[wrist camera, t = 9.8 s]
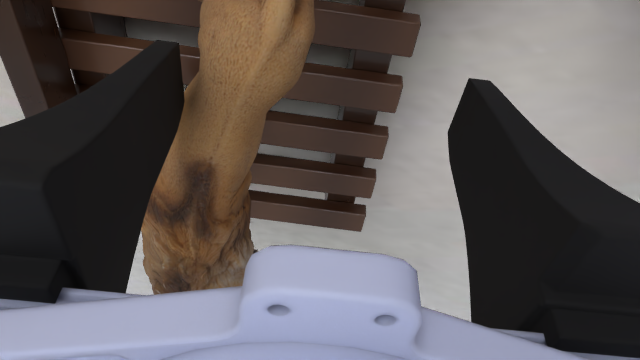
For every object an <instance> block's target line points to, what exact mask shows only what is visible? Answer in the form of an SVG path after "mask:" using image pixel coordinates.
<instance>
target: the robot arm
mask: <svg viewBox="0 0 640 360" xmlns="http://www.w3.org/2000/svg"><path fill="white" fill-rule="evenodd" d="M184 103H185V99H184V88H183V78H182V68H181V58H180V48H179V43H177V42H169V41H161V40H156V41H155V42H153V43H152V44H151V45H149V46H148V47H147V48H145V49H144V50H143V51H141V52H140V53H139V54H137V55H136V56H135V57H134V58H132V59H131V60H130V61H128V62H127V63H125V64H124V65H123V66H121V67H120V68H119V69H117V70H116V71H114V72H113V73H112V74H110V75H109V76H107V77H105V78H104V79H102V80H101V81H99V82H98V83H96V84H95V85H93V86H92V87H90V88H88V89H87V90H85V91H83V92H82V93H80V94H78V95H76V96H74V97H73V98H71V99H69V100H67V101H65V102H63V103H61V104H59V105H57V106H54V107H52V108H50V109H47V110H45V111H43V112H40V113H38V114H35V115H33V116H30V117H28V118H26V119H23V120H20V121H18V122H15V123H12V124H9V125H6V126H3V127H0V360H640V203H638V202H636V201H634V200H633V199H631V198H629V197H627V196H625V195H623V194H622V193H620V192H618V191H617V190H615V189H613V188H612V187H610V186H608V185H607V184H605V183H604V182H602V181H601V180H599V179H598V178H596V177H595V176H593V175H591V174H590V173H589V172H587V171H586V170H584V169H583V168H582V167H580V166H579V165H578V164H576V163H575V162H574V161H572V160H571V159H570V158H569V157H567V156H566V155H565V154H563V153H562V152H561V151H560V150H559V149H557V148H556V147H555V146H554V145H553V144H552V143H551V142H550V141H549V140H547V139H546V138H545V137H544V136H543V135H542V134H541V133H540V132H539V131H538V130H537V129H536V128H535V127H534V126H533V125H532V124H531V123H530V122H529V121H528V120H527V119H526V118H525V117H524V116H523V115H522V114H521V113H520V112H519V111H518V110H517V109H516V108H515V106H514V105H513V104H512V103H511V102H510V101H509V100H508V99H507V98H506V97H505V96H504V95H503V93H502V92H501V91H500V90H499V89H498V88H497V87H496V86H495V85H494V84H493V83H492V82H491V81H488V80H480V79H472V78H469V79H468V82H467V84H466V87H465V90H464V92H463V95H462V97H461V100H460V102H459V105H458V107H457V110H456V113H455V115H454V118H453V120H452V123H451V125H450V128H449V130H448V147H449V159H450V165H451V170H452V175H453V179H454V184H455V188H456V193H457V197H458V201H459V206H460V210H461V215H462V219H463V224H464V230H465V237H466V247H467V257H468V269H469V282H470V301H471V322H469V321H466V320H463V319H460V318H457V317H453V316H450V315H447V314H444V313H441V312H438V311H434V310H431V309H428V308H425V307H422V306H421V303H420V294H419V285H418V276H417V271H416V270H415V269H414V268H413V267H412V266H411V265H410V264H408V263H407V262H406V261H405V260H403V259H400V258H396V257H393V256H389V255H385V254H377V253H368V252H358V251H348V250H338V249H328V248H319V247H309V246H299V245H275V246H269V247H267V248H264V249H262V250H260V251H258V252H256V253H254V254H252V255H251V257H250V259H249V261H248V263H247V265H246V268H245V273H244V279H243V285H242V286H236V287H226V288H216V289H206V290H196V291H186V292H175V293H165V294H155V295H136V294H126V289H127V284H128V280H129V276H130V271H131V267H132V263H133V259H134V254H135V251H136V247H137V243H138V239H139V235H140V231H141V227H142V224H143V220H144V217H145V213H146V210H147V206H148V203H149V199H150V197H151V194H152V191H153V188H154V186H155V184H156V181H157V179H158V176H159V174H160V172H161V169H162V167H163V165H164V162H165V160H166V157H167V155H168V153H169V150H170V148H171V145H172V143H173V141H174V138H175V136H176V133H177V131H178V127H179V123H180V120H181V116H182V111H183V107H184Z"/></svg>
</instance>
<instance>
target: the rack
mask: <svg viewBox="0 0 640 360" xmlns="http://www.w3.org/2000/svg"><path fill="white" fill-rule="evenodd" d="M405 1H406V0H360V1H359V6H357V5H350V4H343V3H336V2H329V1H322V0H314V19H315V32H314V36H313V40H312V42H311V43H313V44H320V45H327V46H334V47H341V48H348V49H351V50H350V55H349V61H348V66H347V68H342V67H334V66H327V65H320V64H313V63H306V62H305V64H304V67H303V70H302V73H301V75H300V77H299V79H298V81H297V82H296V84H295V85H294V86H293V87H292V88H291V89H290V90H289V91H288V92H287V93H286V94H285V95H284V96H283V97H282V98H287V99H295V100H302V101H309V102H316V103H324V104H331V105H338V106H340V110H339V115H338V120H336V119H329V118H322V117H314V116H307V115H300V114H292V113H285V112H278V111H270V110H269V111H268V112H267V114H266V119H265V125H264V129H263V134H262V139H261V142H260V143H261V144H268V145H276V146H283V147H291V148H298V149H306V150H313V151H321V152H328V153H331V159H330V163H327V162H319V161H312V160H304V159H297V158H289V157H282V156H274V155H267V154H259V153H257V155H256V157H255V159H254V162H253V164H252V166H251V168H250V171H251V175H252V180H251V183H255V184H263V185H270V186H278V187H286V188H293V189H301V190H309V191H316V192H324V193H325V200H322V199H315V198H307V197H299V196H292V195H284V194H276V193H269V192H261V191H253V190H248V191H249V195H250V199H251V216H250V218H257V219H265V220H273V221H281V222H288V223H296V224H304V225H312V226H320V227H327V228H335V229H343V230H351V231H359V232H361V231H362V227H363V224H364V220H365V217H366V205H361V204H354V202H355V198H356V197H362V198H371V196H372V192H373V189H374V186H375V182H376V169H372V168H364V167H363V166H364V162H365V158H373V159H382V158H383V154H384V151H385V147H386V144H387V141H388V137H389V135H388V127H387V126H380V125H374V123H375V119H376V115H377V111H382V112H389V113H395V112H396V109H397V106H398V102H399V99H400V95H401V92H402V88H403V78H402V76H399V75H392V74H387V72H388V68H389V64H390V60H391V56H392V55H398V56H405V57H411V56H412V54H413V50H414V47H415V43H416V40H417V36H418V33H419V29H420V26H421V22H420V15H418V14H412V13H405V12H403V9H404V5H405ZM201 5H202V2H201V1H198V0H0V56H1V59H2V61H3V64H4V66H5V69H6V71H7V74H8V76H9V79H10V81H11V83H12V86H13V88H14V91H15V93H16V96H17V98H18V101H19V103H20V106H21V108H22V111H23V113H24V116H25V118H28V117H30V116H33V115H35V114H38V113H40V112H43V111H45V110H47V109H50V108H52V107H54V106H57V105H59V104H61V103H63V102H65V101H67V100H69V99H71V98H73V97H74V96H76V95H78V94H80V93H82V92H83V91H85V90H87V89H88V88H90V87H92V86H93V85H95V84H96V83H98V82H99V81H101V80H102V79H104V78H105V77H107V76H109V75H110V74H112V73H113V72H114V71H116V70H117V69H119V68H120V67H121V66H123V65H124V64H125V63H127V62H128V61H130V60H131V59H132V58H134V57H135V56H136V55H137V54H139V53H140V52H141V51H143V50H144V49H145V48H147V47H148V46H149V45H151V44H152V43H153V42H155V41H149V40H141V39H134V38H127V36H126V30H125V25H124V20H123V17H129V18H136V19H143V20H150V21H157V22H164V23H171V24H178V25H186V26H193V27H200V10H201ZM52 7H53V8H54V11H55V15H56V18H57V22H58V25H59V28H58V26H57V23H56V19H55V16H54V12H53V9H52ZM179 48H180V58H181V68H182V78H183V84H185V85H189V84H190V83H191V81H192V80H193V79H194V77H195V76H196V75H197V73H198V72H199V66H200V50H199V47H191V46H184V45H179ZM70 69H71V70H72V74H73V77H74V81H75V84H74V81H73V78H72V74H71V71H70Z"/></svg>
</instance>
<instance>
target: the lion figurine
mask: <svg viewBox="0 0 640 360" xmlns="http://www.w3.org/2000/svg"><path fill="white" fill-rule="evenodd" d="M198 1H201V2H202V5H201V10H200V30H199V33H198V46H199V50H200V66H199V72H198V73H197V75H196V76H195V77H194V79H193V80H192V81H191V83H190V84H189V85H188V87H187V88H186V90H185V92H184V99H185V103H184V107H183V111H182V116H181V120H180V123H179V127H178V131H177V133H176V136H175V138H174V141H173V143H172V145H171V148H170V150H169V153H168V155H167V157H166V160H165V162H164V165H163V167H162V169H161V172H160V174H159V176H158V179H157V181H156V184H155V186H154V188H153V191H152V194H151V197H150V199H149V203H148V206H147V210H146V213H145V217H144V220H143V224H142V227H141V232H142V237H143V253H144V255H145V257H144V260H143V266H144V269H145V272H146V274H147V275H148V276H149V280H150V282H151V284H152V290H153V293H154V295H155V294H165V293H175V292H186V291H196V290H206V289H216V288H226V287H236V286H242V285H243V279H244V273H245V268H246V265H247V263H248V261H249V259H250V257H251V255H252V254H254V253H256V252H258V251H257V250H255V249H254V245H253V242H252V240H251V231H250V229H249V225H250V216H251V199H250V195H249V191H248V189H249V186H250V184H251V180H252V175H251V171H250V168H251V166H252V164H253V162H254V159H255V157H256V155H257V152H258V149H259V145H260V142H261V139H262V134H263V129H264V125H265V119H266V114H267V112H268V111H269V110H270V109H271V108H272V106H274V105H275V104H276V103H277V102H278V101H279V100H280V99H281V98H282V97H283V96H284V95H285V94H286V93H287V92H288V91H289V90H290V89H291V88H292V87H293V86H294V85H295V84H296V82H297V81H298V79H299V77H300V75H301V73H302V70H303V67H304V64H305V61H306V57H307V54H308V51H309V48H310V45H311V42H312V40H313V36H314V32H315V19H314V0H198Z"/></svg>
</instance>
